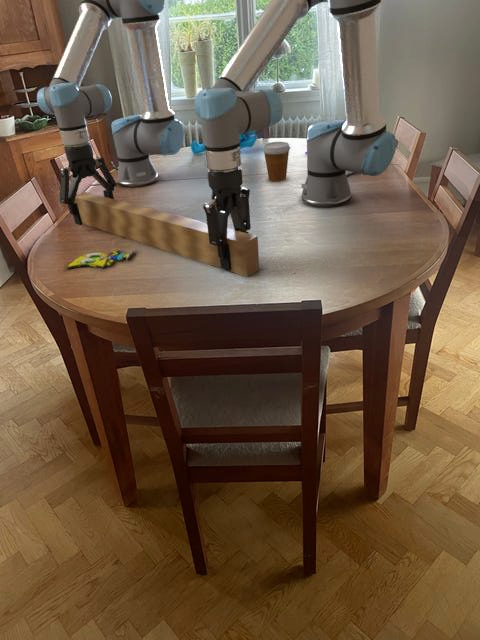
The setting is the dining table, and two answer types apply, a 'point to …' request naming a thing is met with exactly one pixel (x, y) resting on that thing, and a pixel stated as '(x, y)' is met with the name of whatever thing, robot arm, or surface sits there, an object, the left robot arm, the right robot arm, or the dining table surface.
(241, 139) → the toy
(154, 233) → the post
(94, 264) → the toy
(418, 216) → the dining table surface
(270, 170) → the disposable coffee cup
